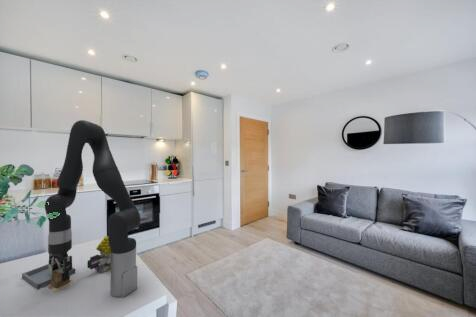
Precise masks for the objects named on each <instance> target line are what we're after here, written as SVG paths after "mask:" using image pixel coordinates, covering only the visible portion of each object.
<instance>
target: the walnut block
mask: <svg viewBox="0 0 476 317" xmlns="http://www.w3.org/2000/svg"><path fill="white" fill-rule="evenodd" d="M63 268H64V267H63ZM70 280H71V275H70V271H69V279H68V280H66V281H64V282H63V281H62V271H61V269H60V268H59V269H56V270H54V271H52V286H53V287H55V288H56V289H57V288H59V287H62V286H64V285H66V284H68V283H70Z"/></svg>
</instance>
